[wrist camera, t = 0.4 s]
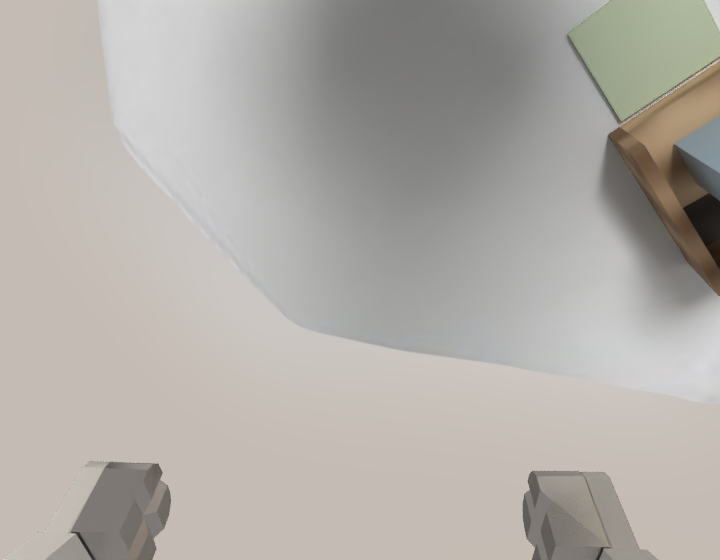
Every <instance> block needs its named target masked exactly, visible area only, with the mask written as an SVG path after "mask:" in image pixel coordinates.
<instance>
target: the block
mask: <svg viewBox="0 0 720 560" xmlns="http://www.w3.org/2000/svg"><path fill="white" fill-rule="evenodd" d="M674 145H675V147H676V149H677V151H678V152H679V154H680V156H681V157H682V159H683V161H684V163H685V164H686V166H687V168H688V170H689V171H690V173H691V175H692V176H693V178H694V180H695V182H696V183H697V185H699V186H700V187H702V188H703V189H704V190H706V191H707V192H708V193H710V194H711V195H712V196H714V197H715V198H716V199H718V200H719V201H720V115H719V116H718V117H716V118H715V119H713V120H711V121H710V122H708V123H706V124H705V125H703V126H702V127H700V128H698V129H697V130H695V131H694V132H692V133H690V134H689V135H687V136H685V137H684V138H682V139H681V140H679V141H677V142H676V143H674Z"/></svg>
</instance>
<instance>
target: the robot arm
mask: <svg viewBox="0 0 720 560" xmlns="http://www.w3.org/2000/svg"><path fill="white" fill-rule="evenodd" d="M161 476H162V471H161V468H160V466H159V464H152V463H121V462H93V461H91V462H90V461H89V462H88V463H87V464H86V465H85V466H84V467H82V469H81V470H80V472H79V474H78V475H77V477H76V479H75V480H74V482H73V484H72V486H71V487H70V489H69V491H68V492H67V494H66V496H65V498H64V500H63V501H62V503H61V504H60V506H59V508H58V510H57V511H56V513H55V515H54V516H53V518H52V520H51V522H50V523H49V525H48V527H47V529H46V530H45V532H37V533H36V534H34V535H33V536H32V537H31V538H30V539H28V540H27V541H25V542H24V543H23V544H22V545H20V546H19V547H18V548H16V549H15V550H14V551H13V552H11V553H10V554H9V555H7V557H5V558H4V559H2V560H152V559H153V556H154V554H155V551H156V546H155V543H154V539H153V538H154V537H155V536H156V535H158V534H159V532H161V531H162V530H163V529H164V527H165V524H166V521H167V519H168V516H169V511H170V504H171V498H170V491H169V488H168V485H166V484H165V483H164V482H162V481H161V480H160V478H161ZM528 484H529V488H530V490H529V491H528V492H526V493H525V495H524V500H523V521H524V528H525V532H526V537H527V539H528V540H529V542H530V543H531V544H532V545H533V546H534V547H535V551H534V554H533V558H532V560H658V559H657V558H655V557H654V556H653V555H652V554H651V553H650V552H649V551H648V550H643V549H639V546H638V544H637V542H636V539H635V537H634V535H633V532H632V530H631V527H630V525H629V523H628V520H627V518H626V516H625V513H624V511H623V508H622V506H621V504H620V501H619V499H618V496H617V494H616V491H615V489H614V487H613V484H612V482H611V479H610V477H609V476H608V475H607V474H606V473H604V472H579V471H532V472H531V473H530V475H529V478H528Z"/></svg>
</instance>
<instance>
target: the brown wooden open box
mask: <svg viewBox="0 0 720 560" xmlns="http://www.w3.org/2000/svg"><path fill="white" fill-rule="evenodd" d="M719 115H720V61H719V62H718V63H716V64H715V65H713V66H712V67H710V68H709V69H707V70H705V71H704V72H702V73H701V74H699V75H698V76H696V77H695V78H693V79H692V80H690V81H689V82H687V83H686V84H684V85H683V86H681V87H680V88H678V89H677V90H675V91H674V92H672V93H671V94H669V95H668V96H666V97H665V98H663V99H662V100H660V101H659V102H657V103H656V104H654V105H652V106H651V107H649V108H648V109H646V110H645V111H643V112H642V113H640V114H639V115H637V116H636V117H634V118H633V119H631V120H630V121H628V122H627V123H625V124H624V125H622V126H621V127H619V128H618V129H616V130H615V131H613V132H612V133H610V134H609V137H610V138H611V140H612V141H613V143H614V145H615V146H616V148H617V149H618V151H619V153H620V154H621V156H622V157H623V159H624V161H625V162H626V164H627V165H628V167H629V169H630V170H631V172H632V173H633V175H634V177H635V178H636V180H637V181H638V183H639V185H640V186H641V188H642V189H643V191H644V193H645V194H646V196H647V197H648V199H649V201H650V202H651V204H652V205H653V207H654V209H655V210H656V212H657V214H658V215H659V217H660V218H661V220H662V222H663V223H664V225H665V226H666V228H667V230H668V231H669V233H670V234H671V236H672V238H673V239H674V241H675V242H676V244H677V246H678V247H679V249H680V250H681V252H682V254H683V255H684V257H685V258H686V260H687V262H688V263H689V264H690V265H691V266H692V268H693V269H694V270H695V271H696V272H697V273H698V274H699V275H700V276H701V277H702V278H703V279H704V280H705V282H706V283H707V284H708V285H709V286H710V287H711V288H712V289H713V290H714V291H715V292H716V293H717V294H718V296H720V201H719V200H718V199H716V198H715V197H714V196H712V195H711V194H710V193H708V192H707V191H706V190H704V189H703V188H702V187H700V186H699V185H697V183H696V182H695V180H694V178H693V176H692V175H691V173H690V171H689V170H688V168H687V166H686V164H685V163H684V161H683V159H682V157H681V156H680V154H679V152H678V151H677V149H676V147H675V145H674V143H676V142H677V141H679V140H681V139H682V138H684V137H685V136H687V135H689V134H690V133H692V132H694V131H695V130H697V129H698V128H700V127H702V126H703V125H705V124H706V123H708V122H710V121H711V120H713V119H715V118H716V117H718V116H719Z"/></svg>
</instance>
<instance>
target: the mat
mask: <svg viewBox="0 0 720 560" xmlns="http://www.w3.org/2000/svg"><path fill="white" fill-rule="evenodd" d="M568 36H569V38H570V39H571V41H572V43H573V44H574V46H575V48H576V49H577V51H578V52H579V54H580V56H581V57H582V59H583V61H584V62H585V64H586V66H587V67H588V69H589V71H590V72H591V74H592V75H593V77H594V79H595V80H596V82H597V84H598V85H599V87H600V89H601V90H602V92H603V93H604V95H605V97H606V98H607V100H608V102H609V103H610V105H611V107H612V108H613V110H614V112H615V113H616V115H617V116H618V118H619V120H620V121H621V122H622V121H623V120H625V119H626V118H628V117H629V116H631V115H632V114H634V113H635V112H637V111H638V110H640V109H641V108H643V107H644V106H646V105H647V104H649V103H650V102H652V101H653V100H655V99H656V98H658V97H659V96H661V95H662V94H664V93H665V92H667V91H668V90H670V89H672V88H673V87H675V86H676V85H678V84H679V83H681V82H682V81H684V80H685V79H687V78H688V77H690V76H691V75H693V74H694V73H696V72H697V71H699V70H700V69H702V68H703V67H705V66H706V65H708V64H709V63H711V62H712V61H714V60H715V59H717V58H718V57H720V31H719V29H718V27H717V25H716V23H715V21H714V19H713V17H712V15H711V13H710V11H709V9H708V7H707V5H706V3H705V1H704V0H611V1H610V2H608V3H607V4H606V5H604V6H603V7H602V8H601V9H599V10H598V11H597V12H595V13H594V14H593V15H591V16H590V17H589V18H588V19H586V20H585V21H584V22H582V23H581V24H580V25H578V26H577V27H576V28H575V29H573V30H572V31H571V32H569V33H568Z"/></svg>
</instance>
